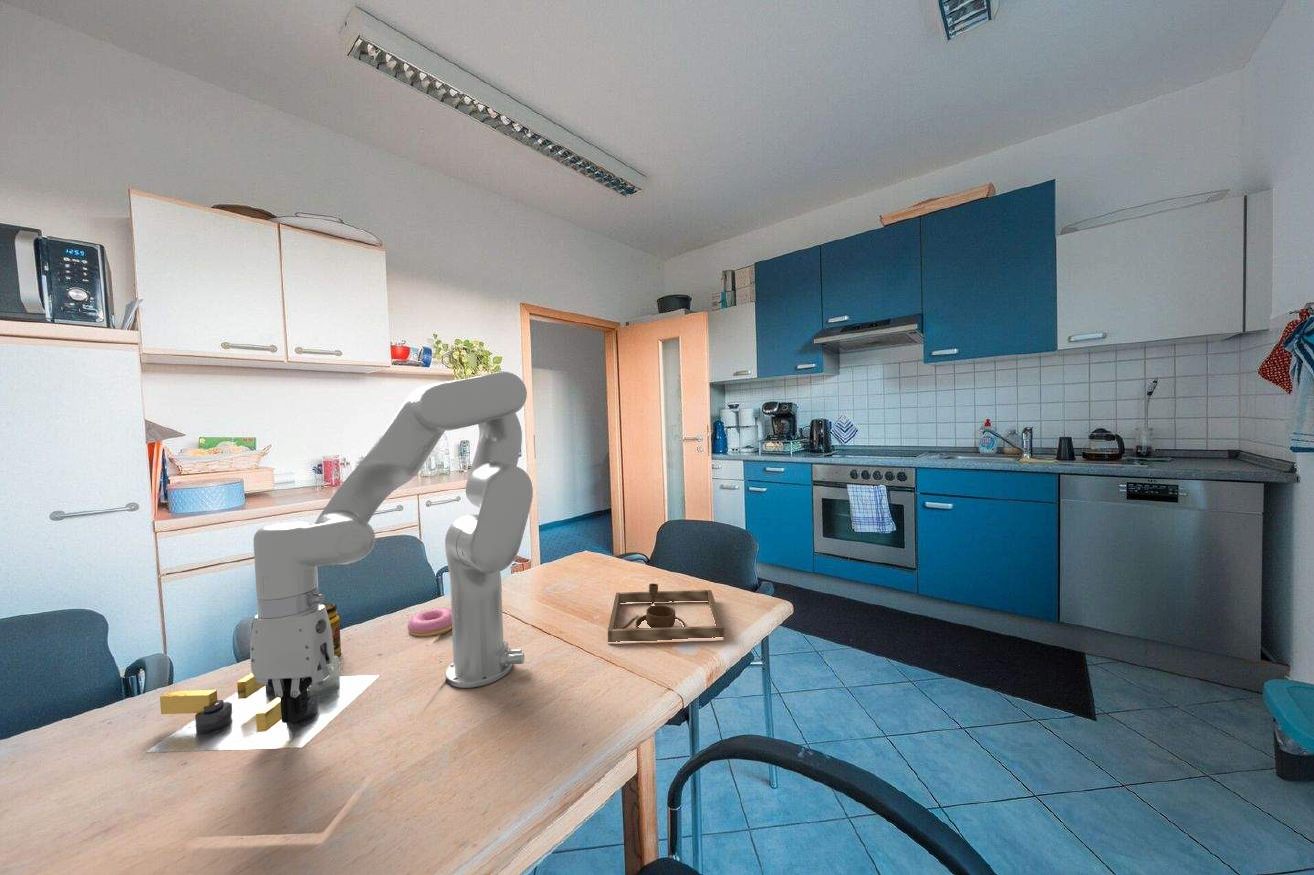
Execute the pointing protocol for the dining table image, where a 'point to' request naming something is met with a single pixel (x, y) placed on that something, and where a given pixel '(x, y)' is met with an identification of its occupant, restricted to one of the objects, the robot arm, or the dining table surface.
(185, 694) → the knob
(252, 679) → the knob
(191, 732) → the silver flat rectangular sheet
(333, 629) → the condiment
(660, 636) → the brown rectangular frame
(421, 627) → the doughnut
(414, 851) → the dining table surface
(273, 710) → the knob
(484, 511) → the robot arm
